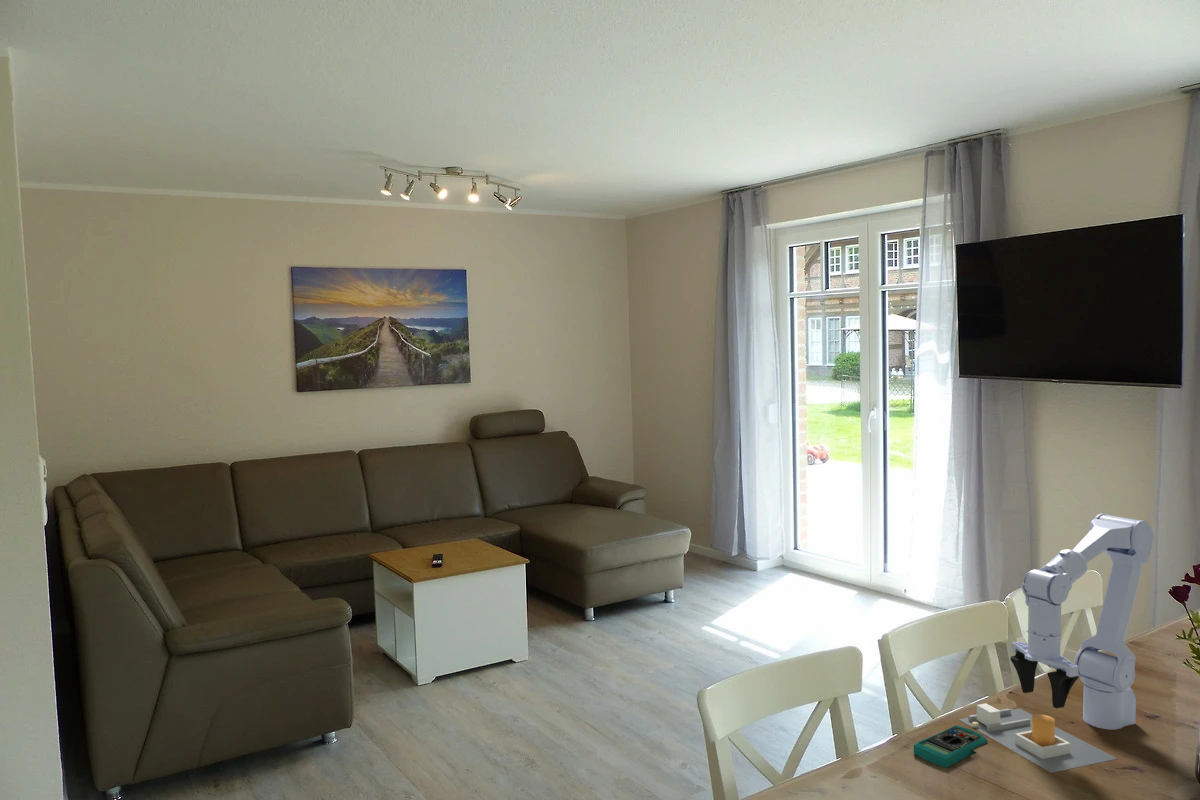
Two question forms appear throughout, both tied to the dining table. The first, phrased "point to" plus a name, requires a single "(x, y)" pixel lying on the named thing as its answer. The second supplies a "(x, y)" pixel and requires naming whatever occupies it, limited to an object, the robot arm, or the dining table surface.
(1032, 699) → the dining table surface
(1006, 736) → the panel
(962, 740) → the digital multimeter
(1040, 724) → the cap
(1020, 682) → the robot arm
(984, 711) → the block
